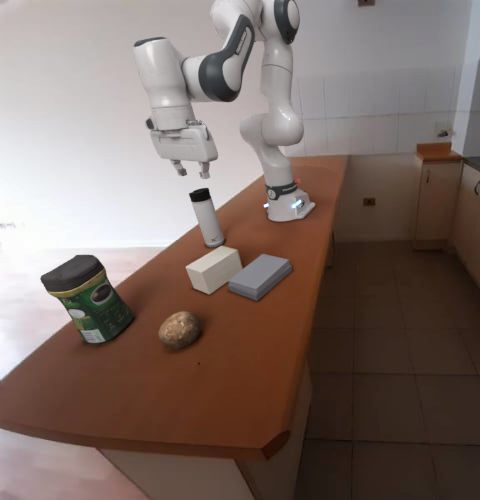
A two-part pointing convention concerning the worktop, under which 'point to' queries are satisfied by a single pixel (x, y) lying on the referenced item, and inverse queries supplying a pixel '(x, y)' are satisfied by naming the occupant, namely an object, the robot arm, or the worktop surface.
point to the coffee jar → (88, 298)
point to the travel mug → (207, 217)
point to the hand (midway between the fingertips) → (194, 177)
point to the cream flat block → (212, 262)
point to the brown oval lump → (179, 330)
